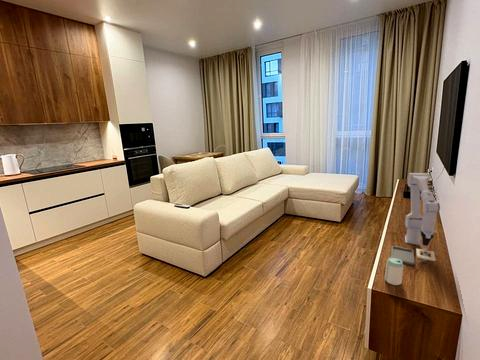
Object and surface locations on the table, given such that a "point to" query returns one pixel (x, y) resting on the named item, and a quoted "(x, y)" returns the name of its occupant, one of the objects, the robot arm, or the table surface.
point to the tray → (403, 254)
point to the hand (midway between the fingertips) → (425, 244)
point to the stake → (424, 259)
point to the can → (394, 271)
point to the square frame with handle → (424, 248)
